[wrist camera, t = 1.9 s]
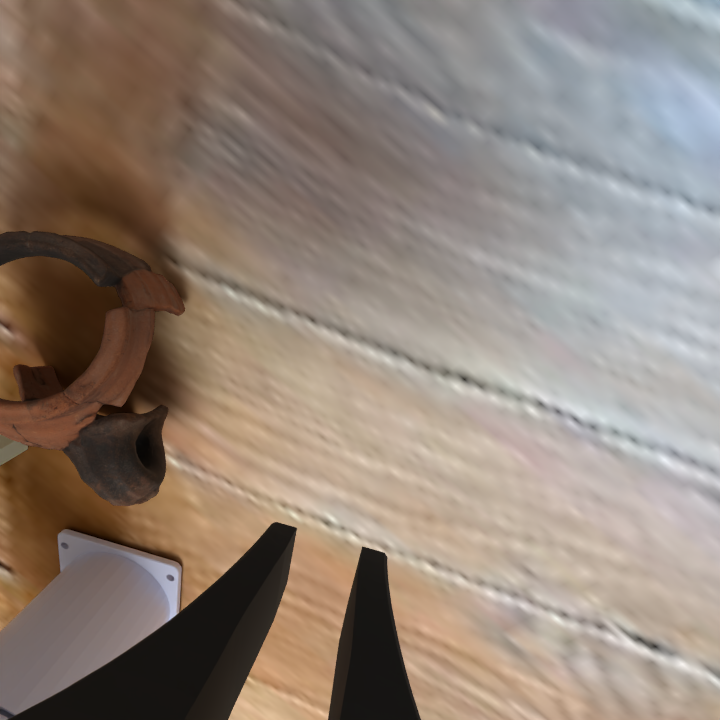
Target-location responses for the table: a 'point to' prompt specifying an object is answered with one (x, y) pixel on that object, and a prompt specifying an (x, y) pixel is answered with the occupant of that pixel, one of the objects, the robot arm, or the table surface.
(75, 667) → the robot arm
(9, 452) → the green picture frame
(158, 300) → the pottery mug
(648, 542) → the table surface
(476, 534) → the table surface
